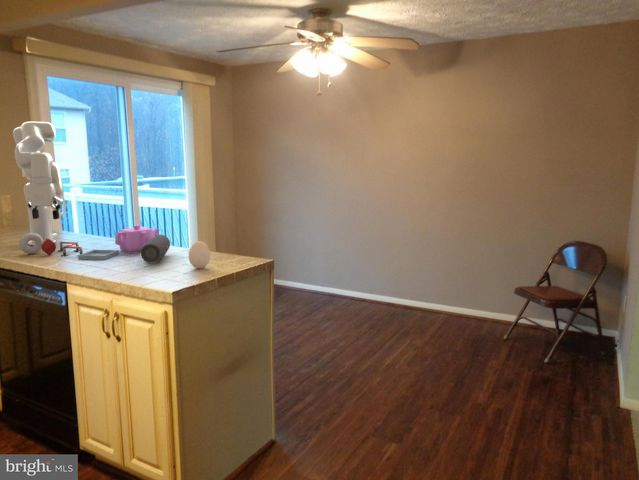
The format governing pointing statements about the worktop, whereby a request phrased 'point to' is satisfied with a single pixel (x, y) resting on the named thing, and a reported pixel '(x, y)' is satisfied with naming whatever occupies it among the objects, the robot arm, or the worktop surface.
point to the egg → (199, 254)
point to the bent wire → (63, 248)
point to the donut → (26, 238)
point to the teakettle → (134, 238)
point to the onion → (48, 246)
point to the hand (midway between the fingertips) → (46, 218)
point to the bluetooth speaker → (155, 248)
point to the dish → (98, 254)
